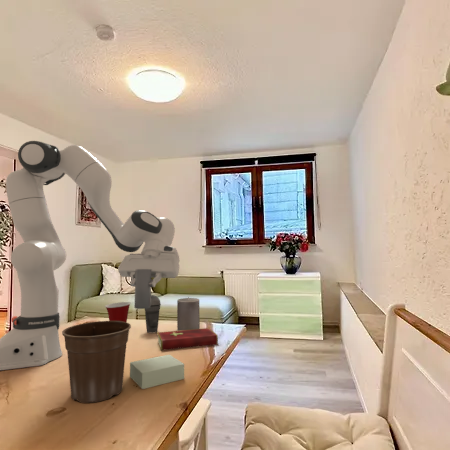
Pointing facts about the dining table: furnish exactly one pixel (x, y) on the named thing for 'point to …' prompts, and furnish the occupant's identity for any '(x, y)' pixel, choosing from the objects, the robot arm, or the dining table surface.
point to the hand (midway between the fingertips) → (142, 285)
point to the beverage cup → (152, 315)
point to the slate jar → (142, 288)
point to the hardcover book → (187, 338)
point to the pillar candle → (188, 314)
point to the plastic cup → (118, 311)
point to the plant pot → (96, 359)
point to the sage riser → (156, 371)
